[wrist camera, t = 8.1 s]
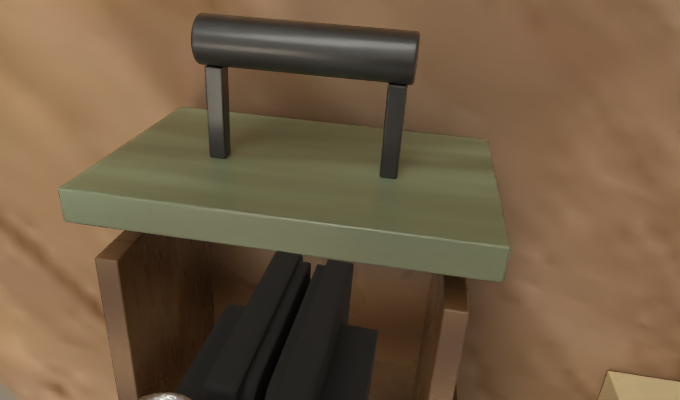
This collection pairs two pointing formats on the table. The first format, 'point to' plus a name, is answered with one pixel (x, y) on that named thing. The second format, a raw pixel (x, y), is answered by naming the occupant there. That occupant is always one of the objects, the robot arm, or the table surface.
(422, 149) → the drawer
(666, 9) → the table surface
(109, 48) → the table surface
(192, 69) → the table surface
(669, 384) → the block
